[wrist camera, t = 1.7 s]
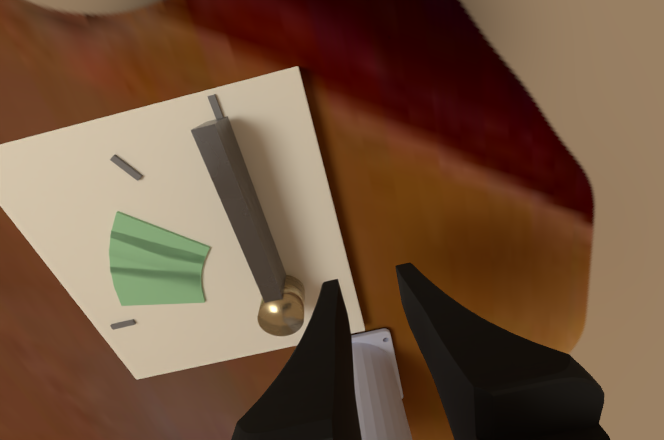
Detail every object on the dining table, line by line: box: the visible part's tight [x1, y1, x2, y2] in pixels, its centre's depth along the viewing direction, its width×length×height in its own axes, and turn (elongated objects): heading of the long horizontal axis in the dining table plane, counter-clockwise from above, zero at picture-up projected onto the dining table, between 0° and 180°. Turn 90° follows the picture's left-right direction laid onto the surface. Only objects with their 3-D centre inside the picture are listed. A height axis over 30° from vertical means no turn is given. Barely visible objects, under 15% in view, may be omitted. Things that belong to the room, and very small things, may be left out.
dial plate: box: [0, 66, 365, 380], centre depth 22 cm, size 20×20×1 cm
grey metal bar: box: [191, 116, 305, 336], centre depth 19 cm, size 14×3×3 cm, turn 13°
